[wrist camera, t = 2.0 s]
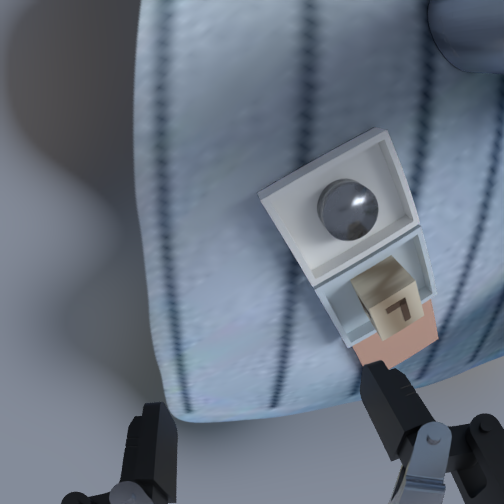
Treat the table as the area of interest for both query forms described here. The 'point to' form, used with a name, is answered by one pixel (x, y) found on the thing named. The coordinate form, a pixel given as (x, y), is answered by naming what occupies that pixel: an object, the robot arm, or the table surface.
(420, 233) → the middle tray
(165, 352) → the table surface
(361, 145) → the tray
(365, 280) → the letter cube
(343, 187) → the grey domed disc
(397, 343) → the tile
